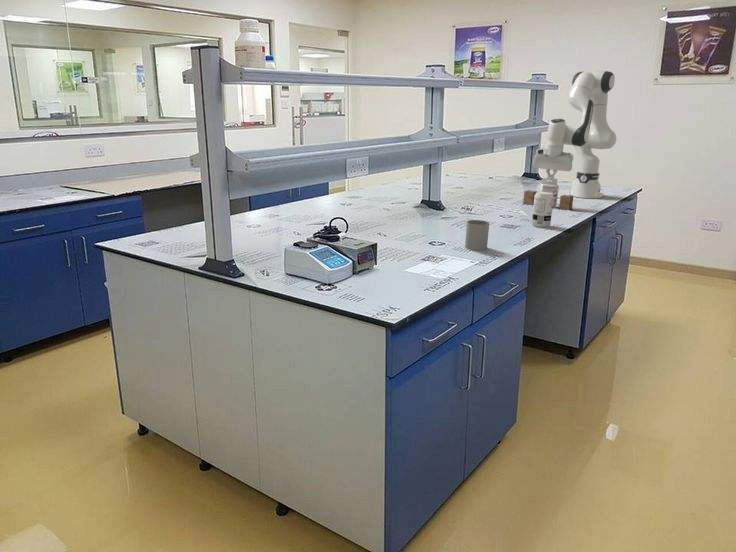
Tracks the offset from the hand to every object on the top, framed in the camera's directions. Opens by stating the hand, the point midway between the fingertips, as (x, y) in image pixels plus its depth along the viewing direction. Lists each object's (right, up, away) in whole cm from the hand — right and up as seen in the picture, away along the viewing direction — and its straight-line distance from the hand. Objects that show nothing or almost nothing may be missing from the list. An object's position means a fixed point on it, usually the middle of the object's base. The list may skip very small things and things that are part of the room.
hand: (550, 178), depth 300 cm
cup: (-55, -41, -81) cm, 106 cm away
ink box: (0, -15, +5) cm, 15 cm away
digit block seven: (-8, -12, +11) cm, 18 cm away
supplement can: (-18, -29, -41) cm, 53 cm away
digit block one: (+7, -17, -1) cm, 18 cm away
